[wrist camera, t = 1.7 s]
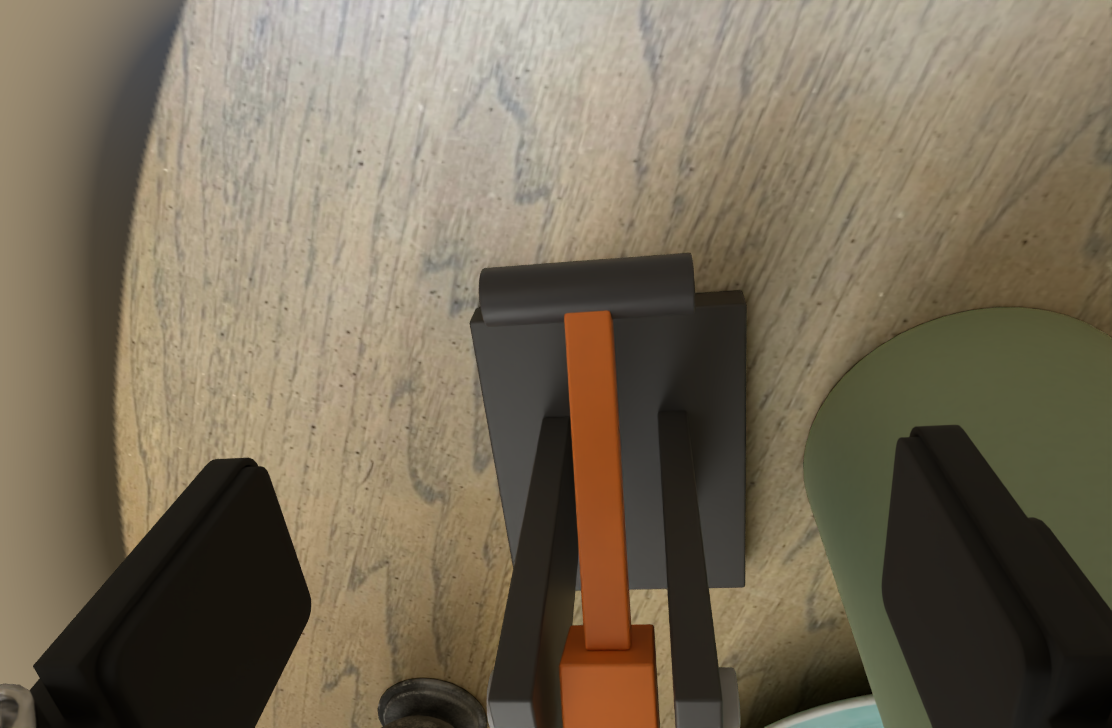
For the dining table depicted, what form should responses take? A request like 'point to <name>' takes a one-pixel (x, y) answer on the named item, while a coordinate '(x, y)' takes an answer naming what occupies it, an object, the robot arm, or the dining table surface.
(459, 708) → the chess piece
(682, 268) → the orange pivot lever
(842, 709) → the plate
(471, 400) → the dining table surface
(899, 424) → the green canister
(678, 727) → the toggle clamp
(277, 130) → the dining table surface
